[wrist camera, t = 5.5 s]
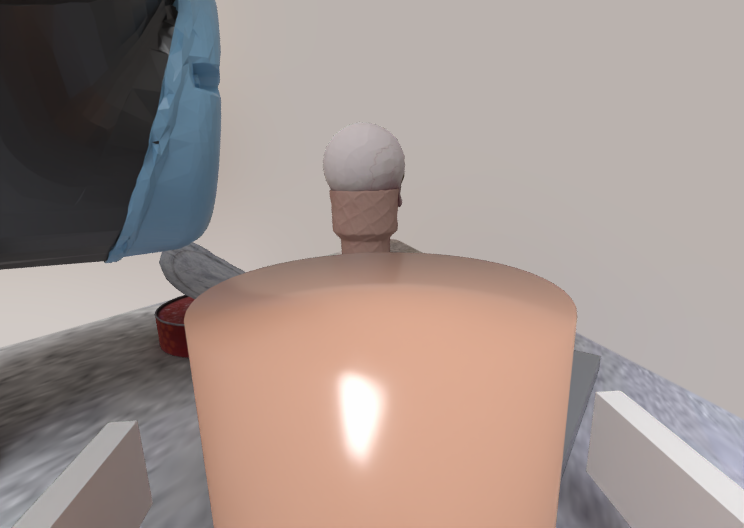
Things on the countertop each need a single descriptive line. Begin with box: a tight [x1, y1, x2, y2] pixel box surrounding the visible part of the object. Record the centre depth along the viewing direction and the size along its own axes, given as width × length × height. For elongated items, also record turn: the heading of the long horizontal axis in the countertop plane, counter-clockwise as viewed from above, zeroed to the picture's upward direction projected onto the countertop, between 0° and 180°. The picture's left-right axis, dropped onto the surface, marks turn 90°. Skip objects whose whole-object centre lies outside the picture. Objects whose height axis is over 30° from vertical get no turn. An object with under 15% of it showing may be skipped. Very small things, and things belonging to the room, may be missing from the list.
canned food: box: [155, 242, 246, 358], centre depth 36 cm, size 11×10×10 cm
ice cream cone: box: [323, 123, 405, 254], centre depth 55 cm, size 11×11×20 cm
